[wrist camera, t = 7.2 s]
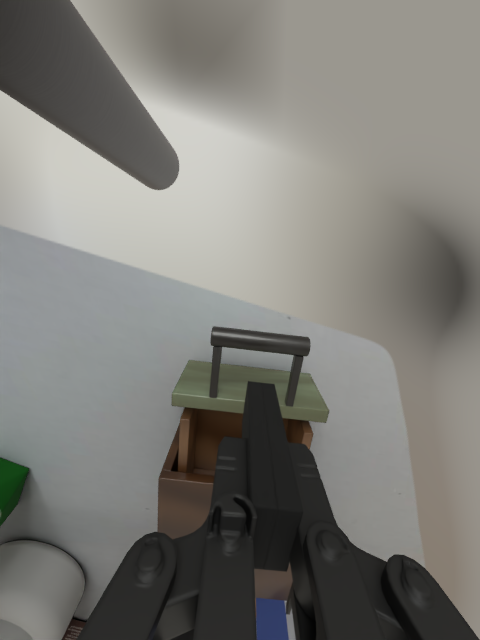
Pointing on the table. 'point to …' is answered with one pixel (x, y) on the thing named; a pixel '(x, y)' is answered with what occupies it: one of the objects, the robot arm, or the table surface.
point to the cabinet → (203, 517)
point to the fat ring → (37, 590)
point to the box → (73, 630)
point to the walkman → (273, 620)
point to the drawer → (241, 396)
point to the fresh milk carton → (10, 486)
